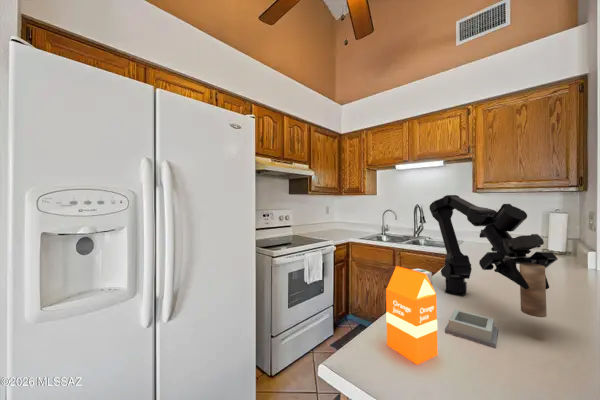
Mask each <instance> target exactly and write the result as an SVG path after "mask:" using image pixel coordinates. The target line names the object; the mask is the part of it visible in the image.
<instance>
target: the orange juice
mask: <svg viewBox="0 0 600 400" xmlns="http://www.w3.org/2000/svg"><path fill="white" fill-rule="evenodd" d="M385 290H386V291H385V294H386V296H385V299H386V307H385V309H386V320H385V321H386V345H387V347H389V348H391V349H392V350H393V351H396V352H397V353H398V354H400V355H402V356H403V357H404V358H406V359H408V360H409V361H411V362H412V363H414V364H415V365H416V366H418V365H420V364H422V363H424V362H426V361H428V360H430V359H432V358H434V357H437V356H438V355H439V354H438V351H439V350H438V348H439V347H438V316H437V315H438V313H437V312H438V311H437V309H438V308H437V307H438V306H437V293H436V291H435V288H434V287H433V284H432V285H431V283H430V281H429V279H428V277H427V275H426V274H425V273H421V272H417V271H414V270H413V269H410V268H406V267H402V266H398V265H396V266H395V268H394V271H393V273H392V275H391V277H390V280H389V282H388V284H387V287H386V288H385Z"/></svg>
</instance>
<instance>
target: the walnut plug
mask: <svg viewBox="0 0 600 400" xmlns="http://www.w3.org/2000/svg"><path fill="white" fill-rule="evenodd" d="M519 272H520V274H521V275H522V276H523V278H524V279H525V281H526V282H527V284H528V286H529V289H524V288H523V287H521V286H520V285H519V290H520V291H519V292H520V295H519V296H520V311H521V312H522V314H525V315H529V316H531V317H536V318H547V315H548V314H547V289H546V280H545V275H546V268H545V266H543V265H539V264H532V263H520V264H519Z"/></svg>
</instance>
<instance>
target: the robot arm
mask: <svg viewBox="0 0 600 400" xmlns="http://www.w3.org/2000/svg"><path fill="white" fill-rule="evenodd" d="M428 209H429V211H430V213H431V215H432V217H433V218H434V219H435V220H436V221H437V223H438V226H439V230H440V233H441V237H442V241H443V244H444V247H445V252H446V256H445V258H444V265H443V267H442V268H441V270H440V274H441V276H442V277H444V278H445V290H444V293H447V294H449V295H450V294H451V295H456V296H460V297H464V296H465V295H466V294H467V292H468V291H467V290H468V283H467V282H466V279H470V277H471V273H472V264H471V262H470V257H469V255H467V254H466V255H465V254H463V253H462V251H461V249H460V245H459V242H458V239H457V235H456V232H455V228H454V225H453V222H452V217H453V214H454V210H456V211H458V212H459V213H461V214H462V215H465V216H466V219H467V221H468V222H469V223H470V224H471V225H473V226H474V227H484V228H483V229H481V230H480V233H479V238H480V239H487V241H488V242H489V243H490V244H491V246H492V247H491V248H490V250H491V251H487V252H486V253H485V254H484V255H483V256H482V257H481V258H480V259H479V261H478V262H479V263H478V264H479V266H480V268H481V270H483V271H491V270H493V269H494V271H493V272H495V273H498V274H500V275H501V276H503V277H505V278H507V279H509V280H510V281H512V282H514V283H515V284H517V285H518V286H519V287H520V286H521V287H523V288H524V289H529V286H528V284H527V282H526V281H525V279H524V278H523V276H522V275H521V274H520V270H519V269H518V267H517V265H520V263H532V264H539V265H543V266H545V269H546V268H548V267H549V266H550V265H552V264H553V263H555V262H556V261H557V260H558V256H556V255H555V254H554V252H552V251H535V252H534V253H532V251H531V250H532V249H537V248H539V249H540V248H541V247H542V245H544V244H545V242H544V238H543V237H541V236H540V235H539V234H538V233H531V234H529V235H519V236H515V237H513V236H511V234H510V232H515V230H517V228H519V226H520V225H521V224H523V223H524V221H525V220H526V219H527V218H528V214H527V212H526V211H525V210H523V209H521V208H519V207H517V206H514V205H512V204H511V203H503V204H502V205H501V206H500V208H499V209H498V210H497V211H496V210H495V209H491V208H488V207H483V206H482V207H481V206H478V205H475V204H474V203H471V202H470V201H468V200H466V199H464V198H461V197H460V196H459V195H456V194H447V195H444V196H442V197H441V198H439V199H436V200H434V201H432V202H431V204H429V208H428ZM530 253H532V255H530V256H527V255H529V254H530ZM495 267H496V268H495ZM545 280H546V290H548V289H550V285H549V281H548V278H547V275H546V274H545Z"/></svg>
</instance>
